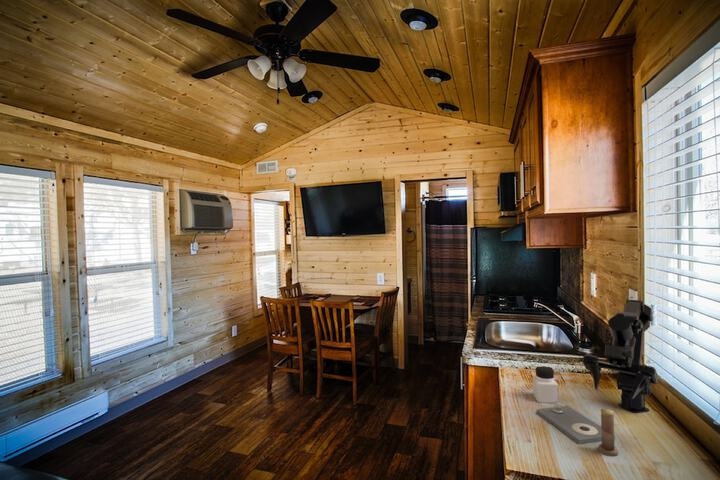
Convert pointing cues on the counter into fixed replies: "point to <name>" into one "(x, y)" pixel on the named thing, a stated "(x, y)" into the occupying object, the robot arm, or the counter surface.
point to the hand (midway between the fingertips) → (613, 393)
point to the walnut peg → (607, 433)
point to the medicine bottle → (545, 385)
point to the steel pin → (557, 407)
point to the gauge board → (573, 424)
